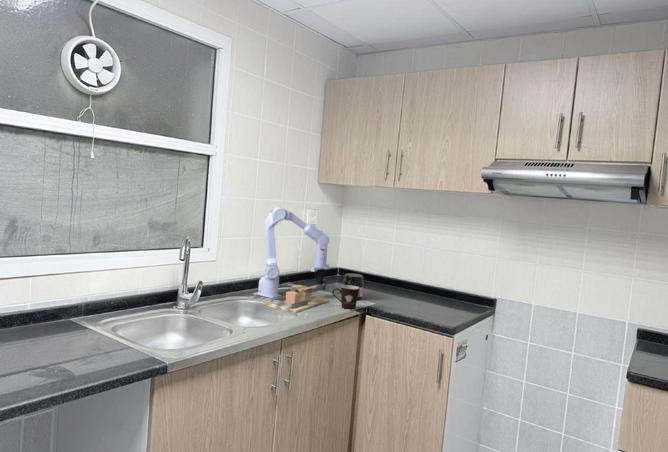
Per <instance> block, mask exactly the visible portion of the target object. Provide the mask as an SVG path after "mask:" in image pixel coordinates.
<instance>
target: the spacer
mask: <svg viewBox="0 0 668 452" xmlns="http://www.w3.org/2000/svg"><path fill="white" fill-rule="evenodd" d="M285 296H286V302H287V303H291V304H293V303H297V302H298V300H299V293H297V292H292V291H291V290H290V291H286V295H285Z"/></svg>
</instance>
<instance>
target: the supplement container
mask: <svg viewBox="0 0 668 452" xmlns="http://www.w3.org/2000/svg"><path fill="white" fill-rule="evenodd" d="M363 280H364V276H363V275H362V274H360V273H359V274H358V273H344V279H343V281H342V282H343V283H342V286H343V285H352V286H357V287H359V293H358V298H357V301H360V300H362V299H363V292H364V283H365V282H364V281H363Z"/></svg>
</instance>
